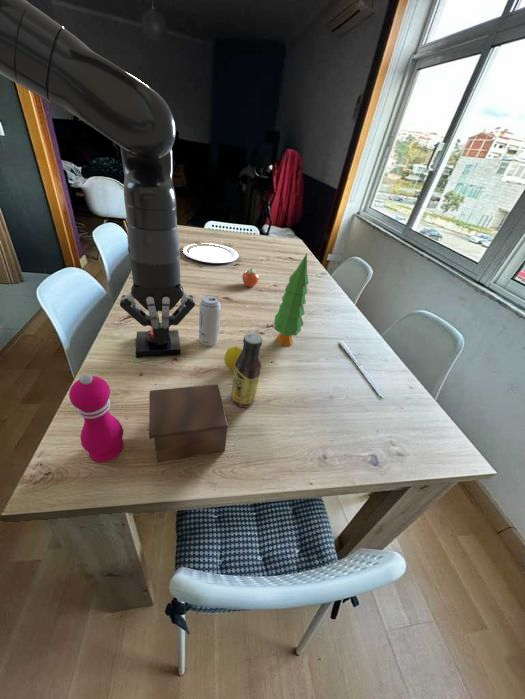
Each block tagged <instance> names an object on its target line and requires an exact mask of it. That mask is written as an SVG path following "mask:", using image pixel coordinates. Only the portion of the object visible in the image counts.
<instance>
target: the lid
mask: <svg viewBox="0 0 525 699" xmlns="http://www.w3.org/2000/svg"><path fill="white" fill-rule="evenodd" d="M148 403H149V406H148V407H149V409H148V412H149V414H148V416H149V418H148V438H149V440H150V439H154V438H159V437H166V436H173V435H180V434H187V433H194V432H201V431H208V430H216V429H223V428H227V429H228V427H229V425H228V421H227V417H226V411H225V408H224V403H223V400H222V395H221V392H220V388H219V383H216V384H215V383H214V384H205V385H194V386H185V387H184V386H183V387H174V388H173V387H172V388H164V389H154V390H153V389H151V390H149V402H148Z"/></svg>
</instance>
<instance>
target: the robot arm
mask: <svg viewBox="0 0 525 699" xmlns="http://www.w3.org/2000/svg"><path fill="white" fill-rule="evenodd" d="M0 75H1V76H3V77H5V78H7V79H8V80H10V81H12V82H14V83H15V84H17V85H18V86H21V88H23V89H25V90H27V91H28V92H30V93H32V94H34V95H36V96H38V97H39V98H41V99H43V100H45V101H47V102H48V103H50V104H51V105H53V106H54V107H57V108H59V109H61V110H63V111H65V112H66V113H69V114H72V115H73V116H75V117H76V118H78V119H79V120H81V121H82V122H84V123H85V124H87V125H88V126H89V127H91V128H92V129H93V130H95V131H96V132H98V133H99V134H101V135H102V136H103V137H105V138H107V139H109V140H110V141H112V142H113V143H114V144H116V145H117V146H119V147H120V155H121V161H122V168H123V175H124V179H123V199H124V200H123V202H124V208H125V216H126V226H127V228H126V229H127V232H126V233H127V234H126V235H127V237H126V238H127V251H128V254H129V263H130V268H131V277H132V286H131V288H130V292H129V293H128V294H123V295H122V296H120V301H119V307H121V309H123V310H124V311H125V313H127V314H128V315H130V317H132V318H133V319H134V320H135V321H137V323H138V324H140V325H141V326H143V327H147V326H149V327H151V329H153V336H154V341H155V342H158V344H166V341H169V330H170V327H171V326H178V325H180V323H181V322H182V321H183V320H184V319H185V318H186V316H188V314H190V312H191V311H192V310H193V309H194V308H195V306H196V301H195V296H193V295H192V294H191V295H188V294H187V293H185V291H184V287H183V286H182V284H181V259H180V255H181V250H180V238H179V231H178V216H177V215H178V213H177V198H176V197H177V196H176V192H175V191H176V190H175V186H174V182H173V146H174V145H175V141H176V135H177V127H176V126H177V125H176V121H175V118H174V117H175V116H174V115H173V112H172V110H171V108H170V106H169V105H168V103H167V102H166V100H165V99H164V98H163V97H162V95H161V94H159V93H158V92H157V91H155V90H154V89H152V88H151V87H150V86H149V85H148V84H145V83H144V82H142V81H141V80H140V79H138V78H137V77H135V76H134V75H132V74H130V73H128V72H127V71H125V70H124V69H122V68H121V67H119V66H118V65H116V64H114V63H113V62H111V61H110V60H108V59H106V58H105V57H103V56H102V55H100V54H98V53H96V52H95V51H94V50H92V49H91V48H89V47H88V45H86V43H84V42H83V41H82V40H80V39H79V38H78V37H77V36H76V35H75V34H73V33H72V32H70V31H69V30H67V29H66V28H65V27H64V26H63V25H61V24H60V23H58V22H57V21H56V20H54V19H53V18H51V17H50V16H49V15H48V14H45V13H44V12H43V11H41V10H40V9H39V8H37V7H36V6H34V5H32V3H30V2H29V1H27V0H0ZM137 302H138V303H139V304H140V306H142V307H143V308H144V309H145V310H147V311H148V313H147V312H145V310H143V309H142V308H141V307H140V306H139V305H138V304H137ZM179 302H180V305H179V306H178V307H177V308H176V309H175V310H174V311H173V313H171V315H170V311H172V310H173V309H174V308H175V307H176V306H177V304H178V303H179ZM159 312H161V322H160V317H159Z"/></svg>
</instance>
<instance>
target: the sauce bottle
mask: <svg viewBox="0 0 525 699" xmlns="http://www.w3.org/2000/svg"><path fill="white" fill-rule="evenodd" d="M242 342H243V346H242V352H241V354H240V356H239V357H238V359H237V361H236V362H235V368H234V370H233V376H232V384H231V390H230V398H231V402H232V403H233V404H234V405H235V406H237V407H240V408H247V407H250V406H251V405H252V404H254V402H255V399H256V397H257V396H256V395H257V391H258V386H259V381H260V376H261V370H262V364H263V361H262V357H261V355H260V350H261V347H262V345H263V337H262V335H260V334H258V333H255V332H249V333H248V332H247V333H246V334H245V335H244V336H243V341H242Z"/></svg>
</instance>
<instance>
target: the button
mask: <svg viewBox="0 0 525 699" xmlns="http://www.w3.org/2000/svg"><path fill="white" fill-rule="evenodd" d="M150 337H151V338H152V339H154V336H153V328H151V329H150Z"/></svg>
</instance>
